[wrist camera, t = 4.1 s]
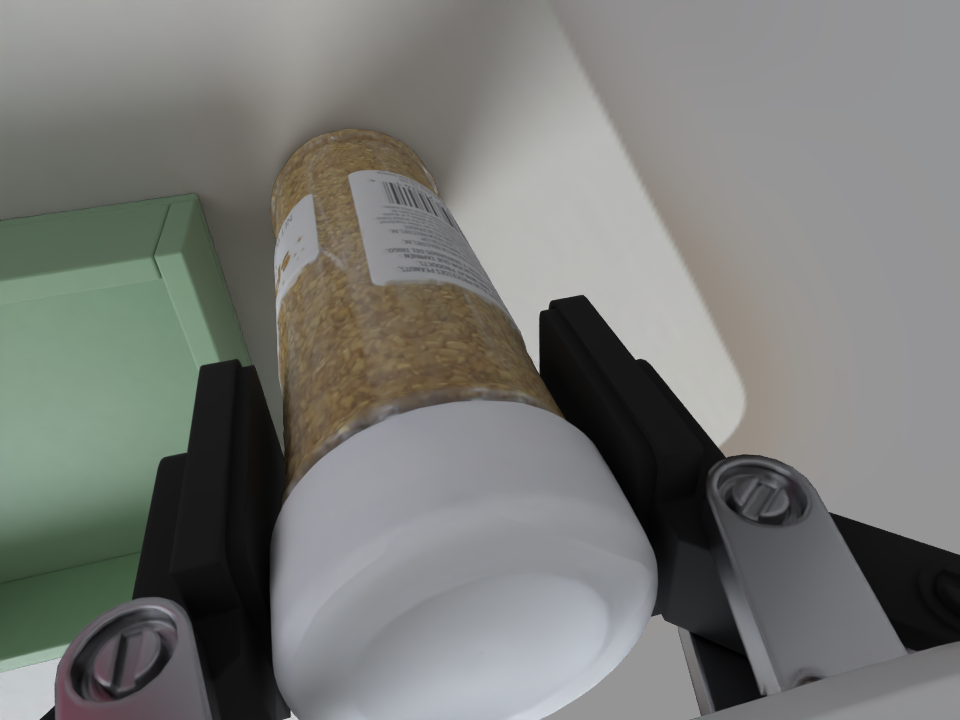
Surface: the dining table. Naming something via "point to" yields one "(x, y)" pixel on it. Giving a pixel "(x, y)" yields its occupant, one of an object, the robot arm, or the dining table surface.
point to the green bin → (95, 400)
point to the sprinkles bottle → (428, 470)
